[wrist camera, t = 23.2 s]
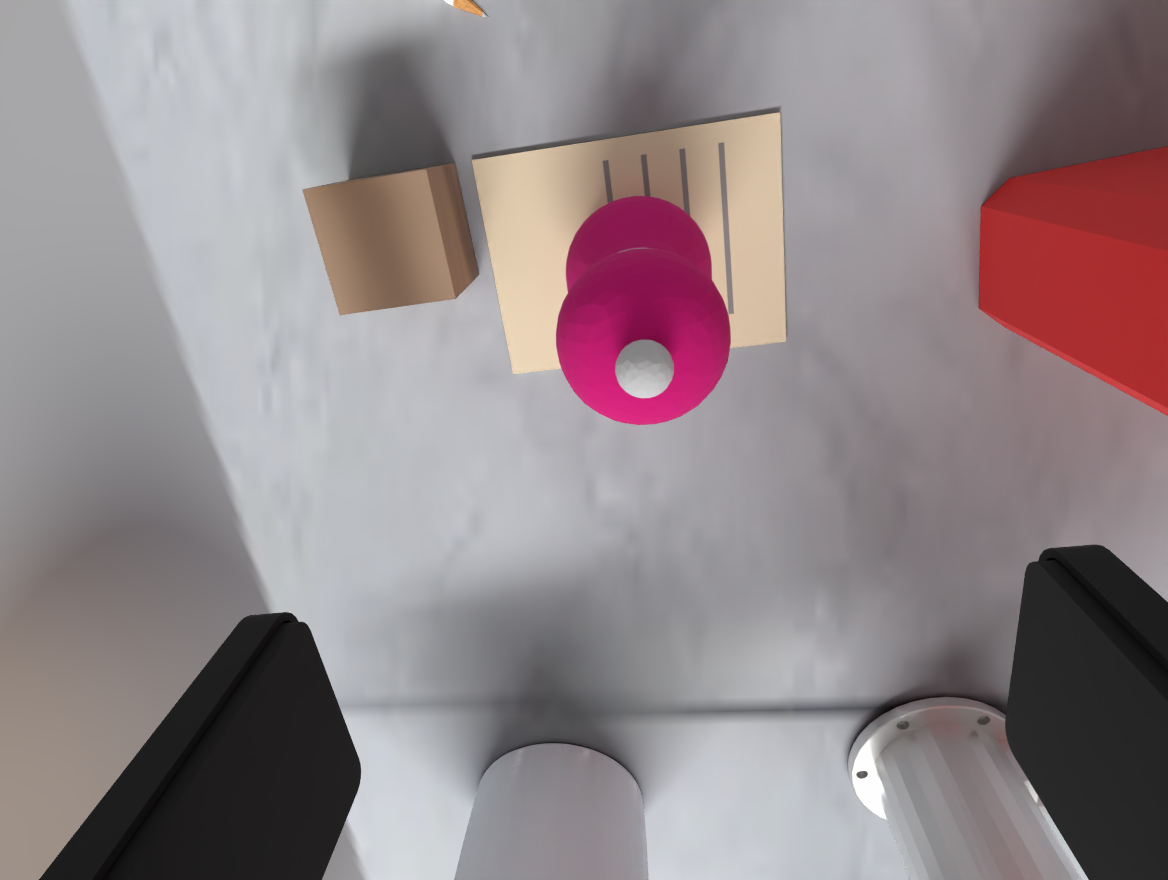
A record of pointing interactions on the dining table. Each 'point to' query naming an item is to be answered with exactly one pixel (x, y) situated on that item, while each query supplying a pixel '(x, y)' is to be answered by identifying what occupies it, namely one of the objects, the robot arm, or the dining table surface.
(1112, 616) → the robot arm
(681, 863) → the dining table surface
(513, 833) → the utensil holder
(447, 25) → the dining table surface
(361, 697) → the dining table surface
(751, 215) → the letter
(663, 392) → the pepper mill
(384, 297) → the block
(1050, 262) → the book
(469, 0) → the pencil
